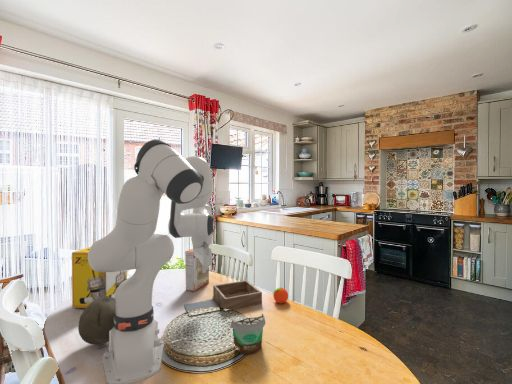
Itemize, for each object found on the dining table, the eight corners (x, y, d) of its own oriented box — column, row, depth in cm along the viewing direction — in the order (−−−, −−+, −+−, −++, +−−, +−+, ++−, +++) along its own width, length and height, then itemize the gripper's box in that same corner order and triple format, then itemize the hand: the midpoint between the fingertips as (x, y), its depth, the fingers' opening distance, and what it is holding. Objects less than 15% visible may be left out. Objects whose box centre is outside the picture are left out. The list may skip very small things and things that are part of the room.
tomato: (275, 307, 120) (275, 291, 120) (268, 301, 126) (268, 286, 126) (291, 304, 123) (291, 289, 123) (283, 298, 129) (283, 284, 129)
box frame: (261, 304, 123) (261, 292, 123) (224, 311, 116) (224, 299, 116) (246, 290, 140) (246, 280, 139) (213, 296, 132) (213, 285, 132)
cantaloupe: (86, 288, 95) (62, 334, 89) (103, 298, 86) (78, 349, 81) (120, 296, 105) (101, 338, 99) (140, 305, 96) (120, 351, 90)
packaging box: (106, 308, 119) (106, 253, 118) (72, 307, 120) (71, 252, 120) (126, 294, 135) (126, 245, 134) (96, 293, 136) (96, 244, 136)
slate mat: (221, 310, 117) (221, 309, 117) (189, 316, 111) (189, 315, 111) (213, 299, 128) (213, 299, 128) (184, 305, 122) (184, 304, 122)
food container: (236, 360, 83) (236, 328, 83) (230, 349, 88) (230, 319, 88) (271, 351, 88) (271, 320, 88) (263, 341, 93) (263, 312, 93)
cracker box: (200, 281, 153) (200, 245, 153) (209, 283, 151) (209, 246, 150) (184, 290, 140) (184, 250, 140) (194, 291, 138) (194, 251, 138)
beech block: (208, 279, 118) (208, 259, 118) (198, 281, 116) (198, 260, 116) (206, 276, 122) (206, 257, 122) (196, 277, 120) (196, 258, 120)
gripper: (215, 243, 111) (215, 276, 111) (203, 235, 129) (203, 263, 130) (200, 245, 108) (200, 278, 108) (190, 236, 127) (190, 265, 127)
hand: (202, 270), depth 119 cm, fingers closed on beech block, 4 cm apart
